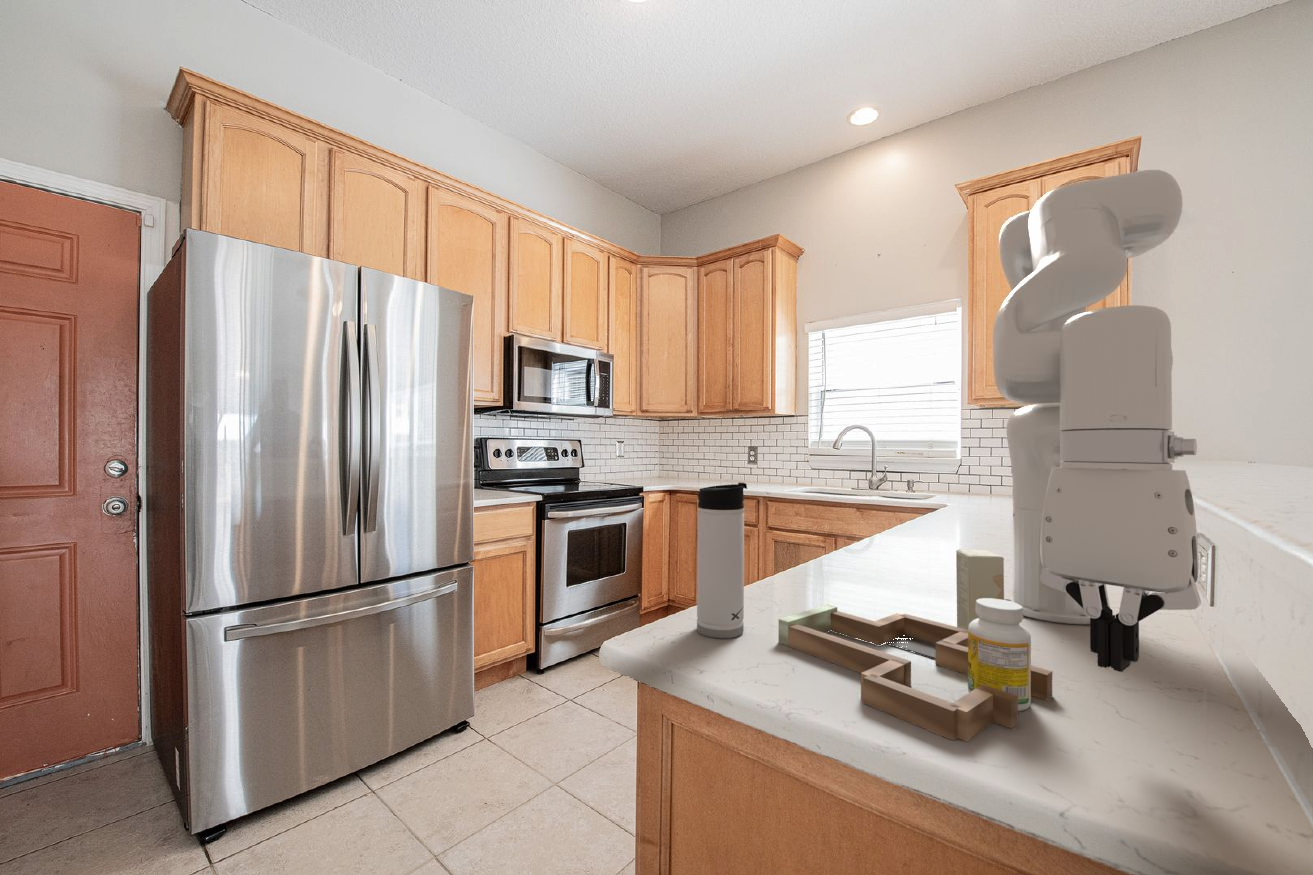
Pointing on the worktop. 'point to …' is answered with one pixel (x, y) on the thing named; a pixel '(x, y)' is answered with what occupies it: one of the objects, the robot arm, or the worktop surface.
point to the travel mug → (720, 561)
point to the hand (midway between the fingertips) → (1114, 665)
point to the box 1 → (907, 668)
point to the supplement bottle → (1000, 650)
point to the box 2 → (977, 581)
